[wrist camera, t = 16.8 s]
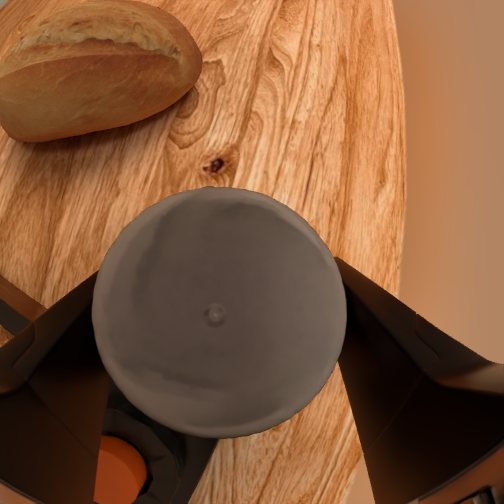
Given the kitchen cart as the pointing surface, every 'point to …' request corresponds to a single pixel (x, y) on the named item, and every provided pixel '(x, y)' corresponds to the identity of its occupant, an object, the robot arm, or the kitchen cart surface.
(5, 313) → the rectangular frame
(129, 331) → the supplement bottle
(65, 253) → the kitchen cart surface
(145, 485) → the control block
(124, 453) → the stop button
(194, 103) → the kitchen cart surface
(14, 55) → the bread roll
